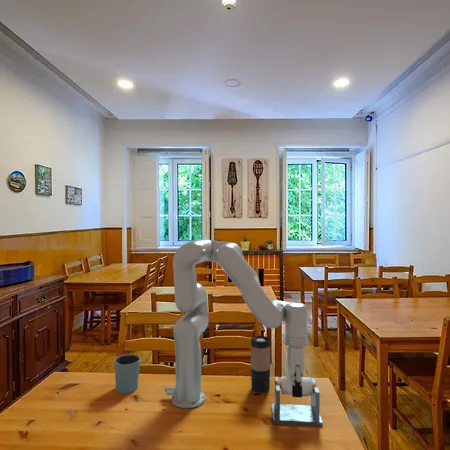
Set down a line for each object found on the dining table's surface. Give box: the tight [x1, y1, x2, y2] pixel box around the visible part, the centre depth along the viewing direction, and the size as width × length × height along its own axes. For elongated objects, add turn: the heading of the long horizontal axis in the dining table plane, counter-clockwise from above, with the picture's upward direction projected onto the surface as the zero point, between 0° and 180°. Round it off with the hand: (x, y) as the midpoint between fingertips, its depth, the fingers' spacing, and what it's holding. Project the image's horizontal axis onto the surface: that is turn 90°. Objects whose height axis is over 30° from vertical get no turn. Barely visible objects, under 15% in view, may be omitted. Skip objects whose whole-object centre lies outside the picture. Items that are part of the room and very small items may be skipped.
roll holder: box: [271, 376, 323, 427], centre depth 116 cm, size 16×10×11 cm, turn 84°
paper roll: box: [277, 375, 317, 397], centre depth 116 cm, size 13×6×6 cm, turn 84°
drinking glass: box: [113, 353, 141, 395], centre depth 135 cm, size 10×10×12 cm
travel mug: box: [250, 335, 271, 394], centre depth 135 cm, size 8×8×20 cm
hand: (296, 391), depth 116 cm, fingers closed on paper roll, 5 cm apart
